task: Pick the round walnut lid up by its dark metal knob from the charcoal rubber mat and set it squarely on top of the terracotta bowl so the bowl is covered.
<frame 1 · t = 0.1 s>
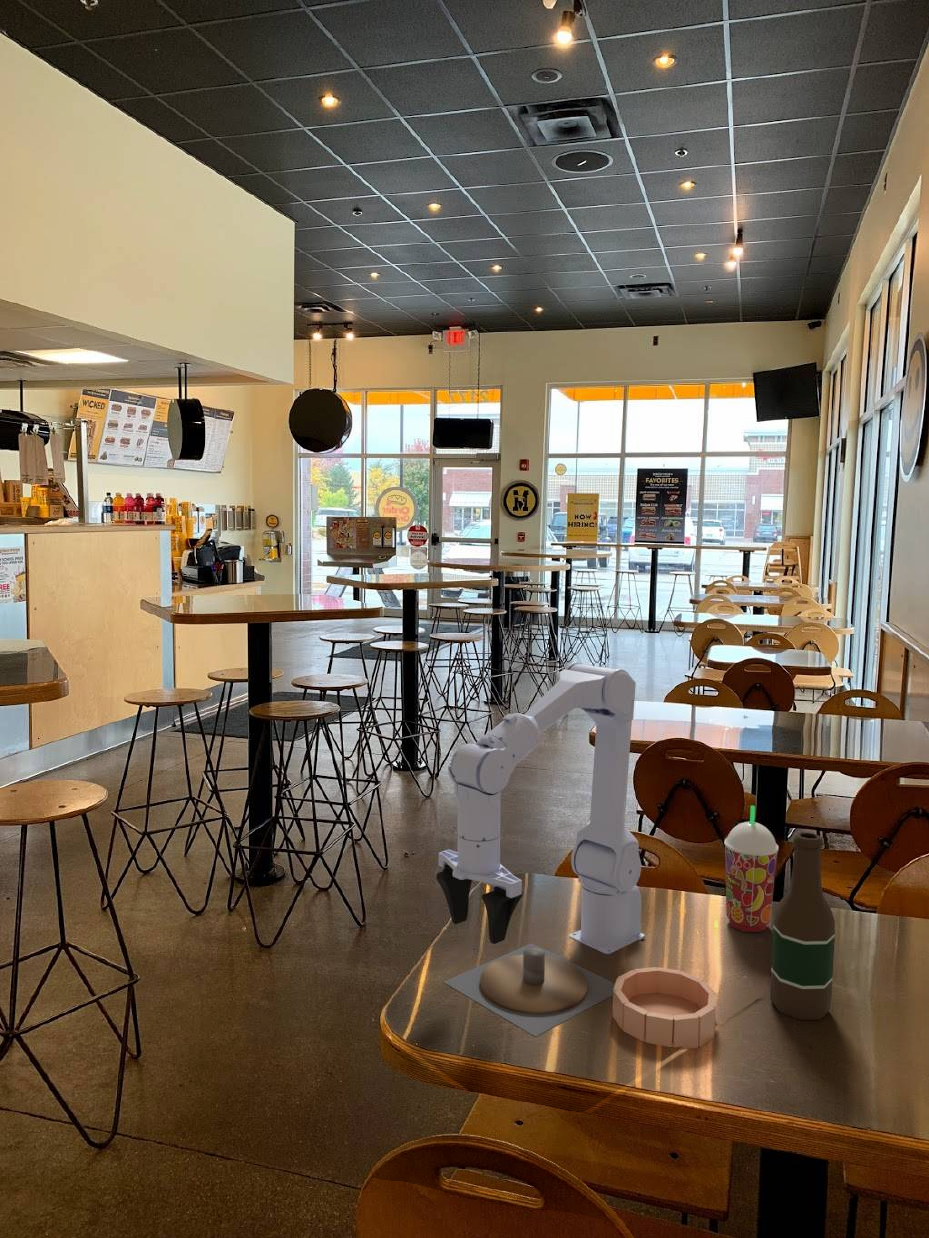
hand: (478, 931, 121), 10 cm above the table, tool pointing down, fingers open, 7 cm apart
lid: (533, 985, 126), resting on mat
bowl: (663, 1020, 118), on the table
smoothie: (747, 926, 146), on the table
beer bottle: (799, 1007, 122), on the table
mat: (533, 988, 126), on the table
syrup box: (603, 900, 156), on the table
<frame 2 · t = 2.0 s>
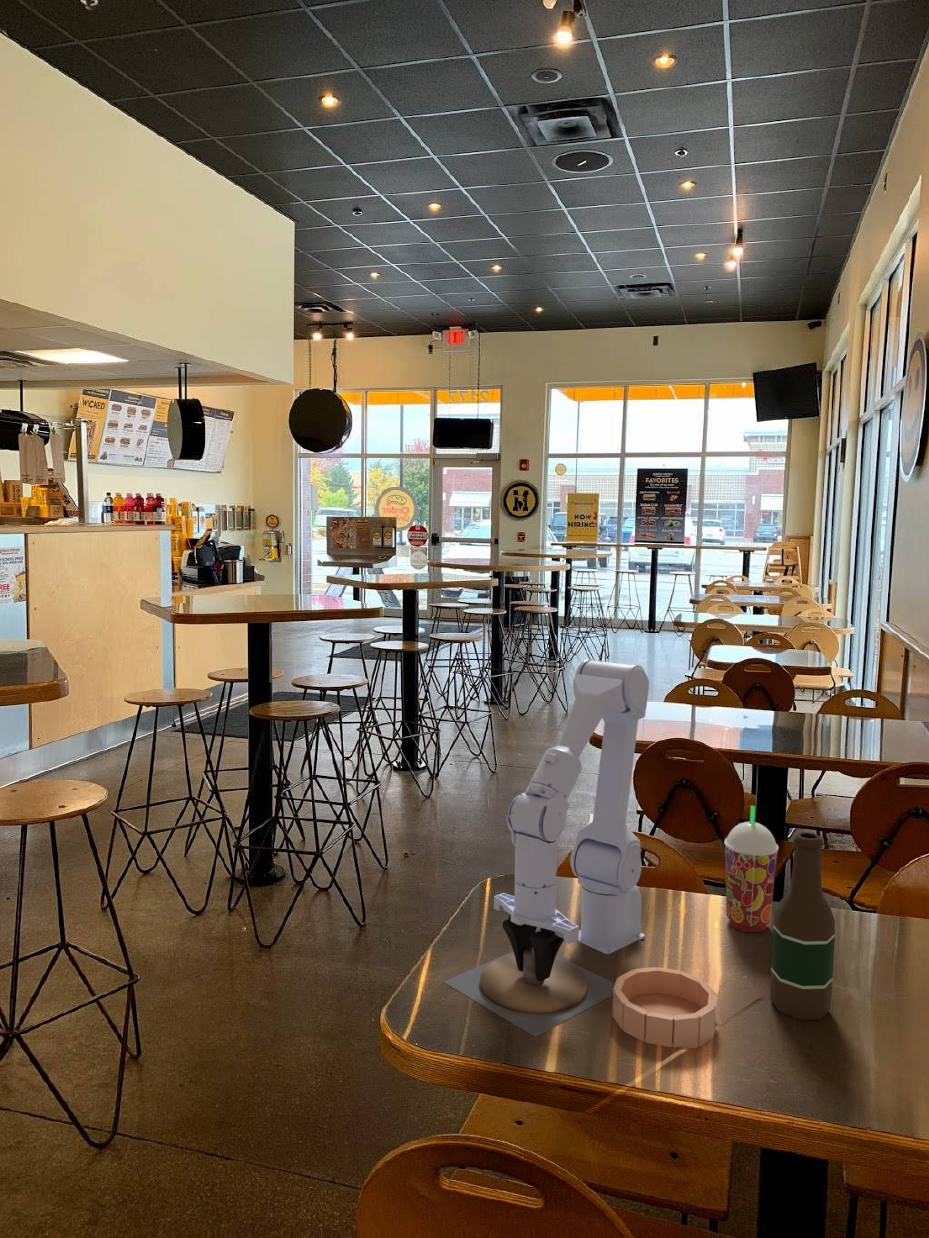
hand: (533, 973, 126), 2 cm above the table, tool pointing down, fingers closed on lid, 3 cm apart
lid: (533, 985, 126), resting on mat, touching gripper
everything else where it was.
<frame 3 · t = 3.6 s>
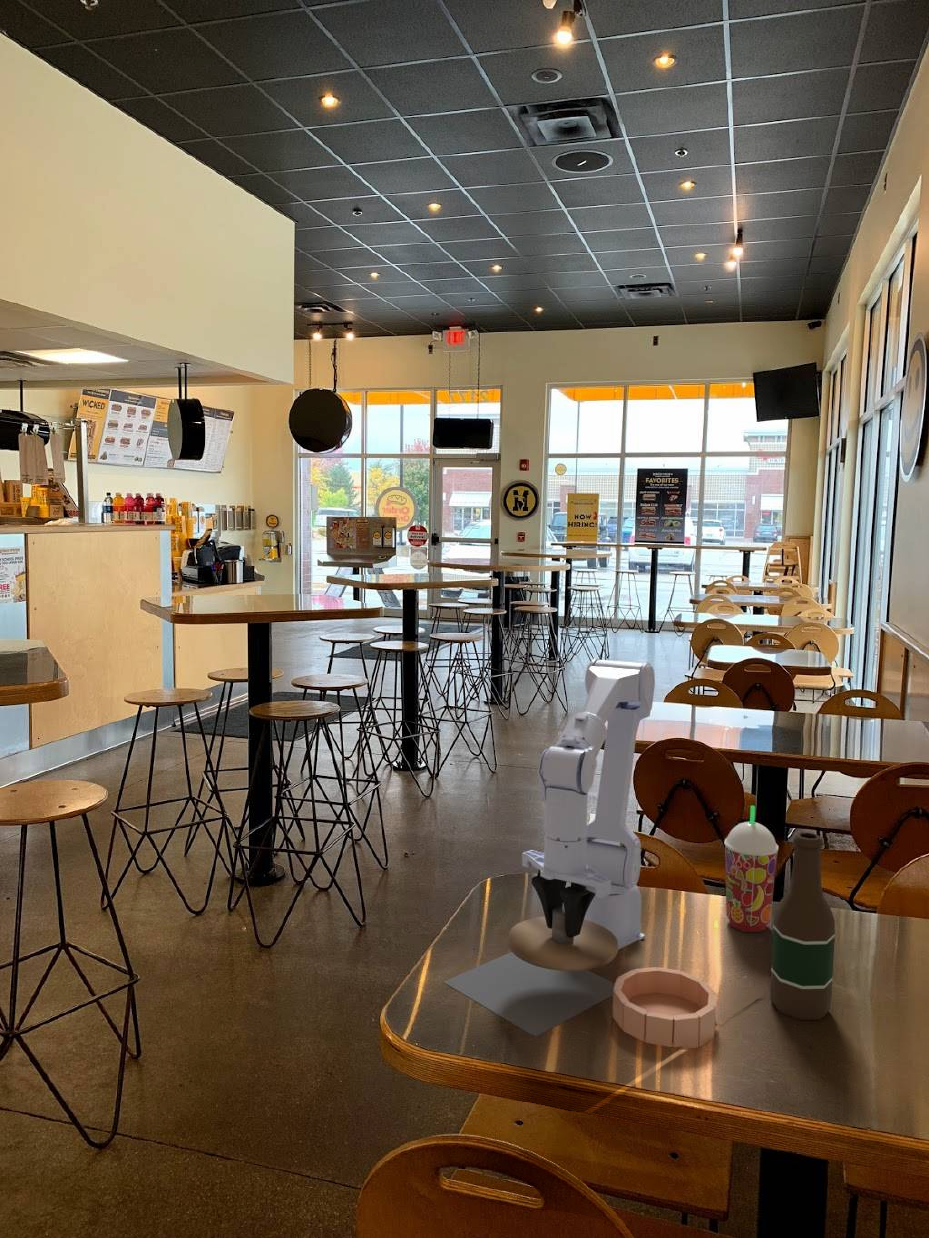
hand: (563, 930, 123), 9 cm above the table, tool pointing down, fingers closed on lid, 3 cm apart
lid: (562, 944, 123), point 7 cm above the table, touching gripper
everything else where it was.
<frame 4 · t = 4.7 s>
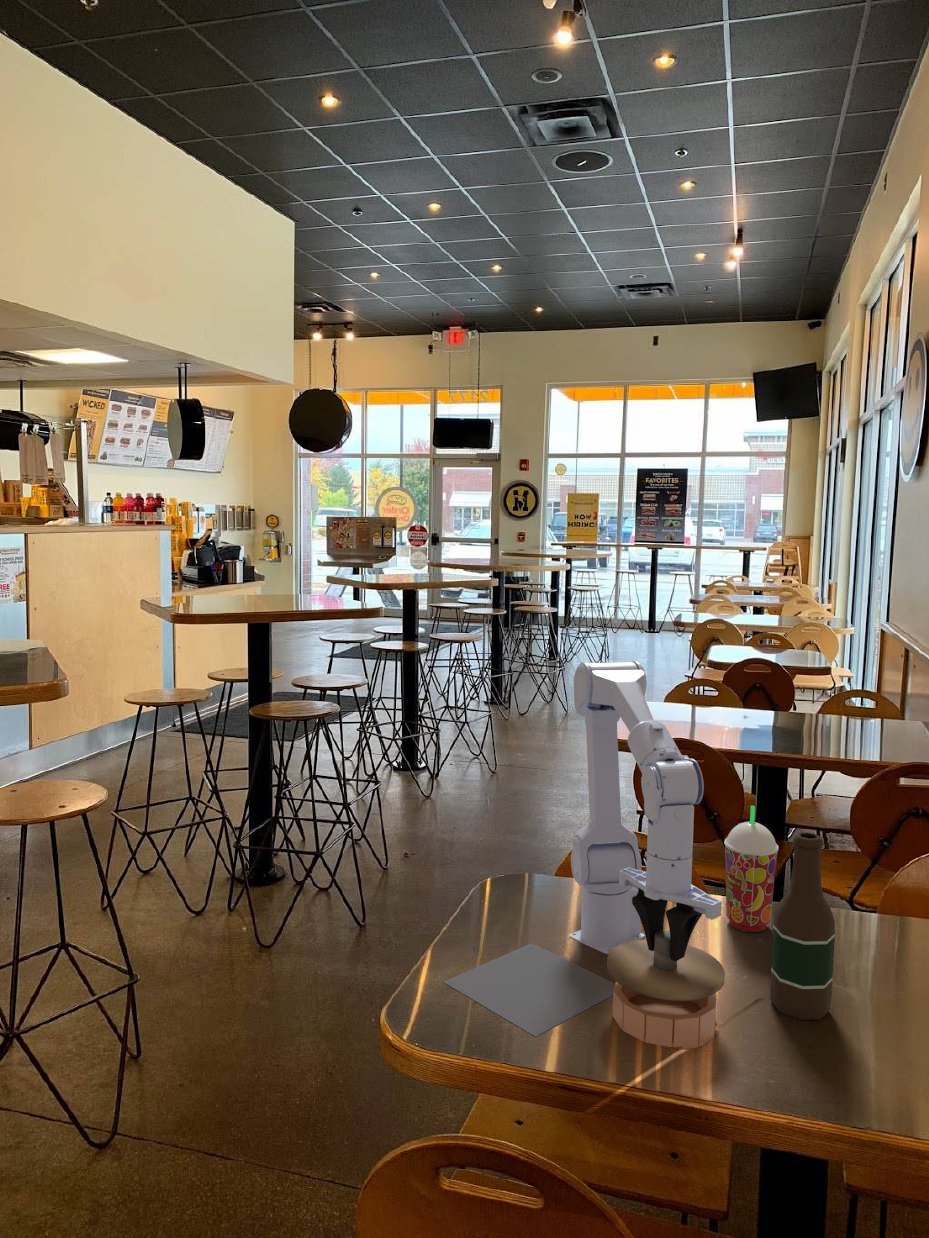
hand: (666, 952, 117), 9 cm above the table, tool pointing down, fingers closed on lid, 3 cm apart
lid: (664, 970, 117), point 7 cm above the table, touching gripper
everything else where it was.
when the fingers open (7 cm above the table, at t = 5.6 s): lid stays where it is, resting on bowl.
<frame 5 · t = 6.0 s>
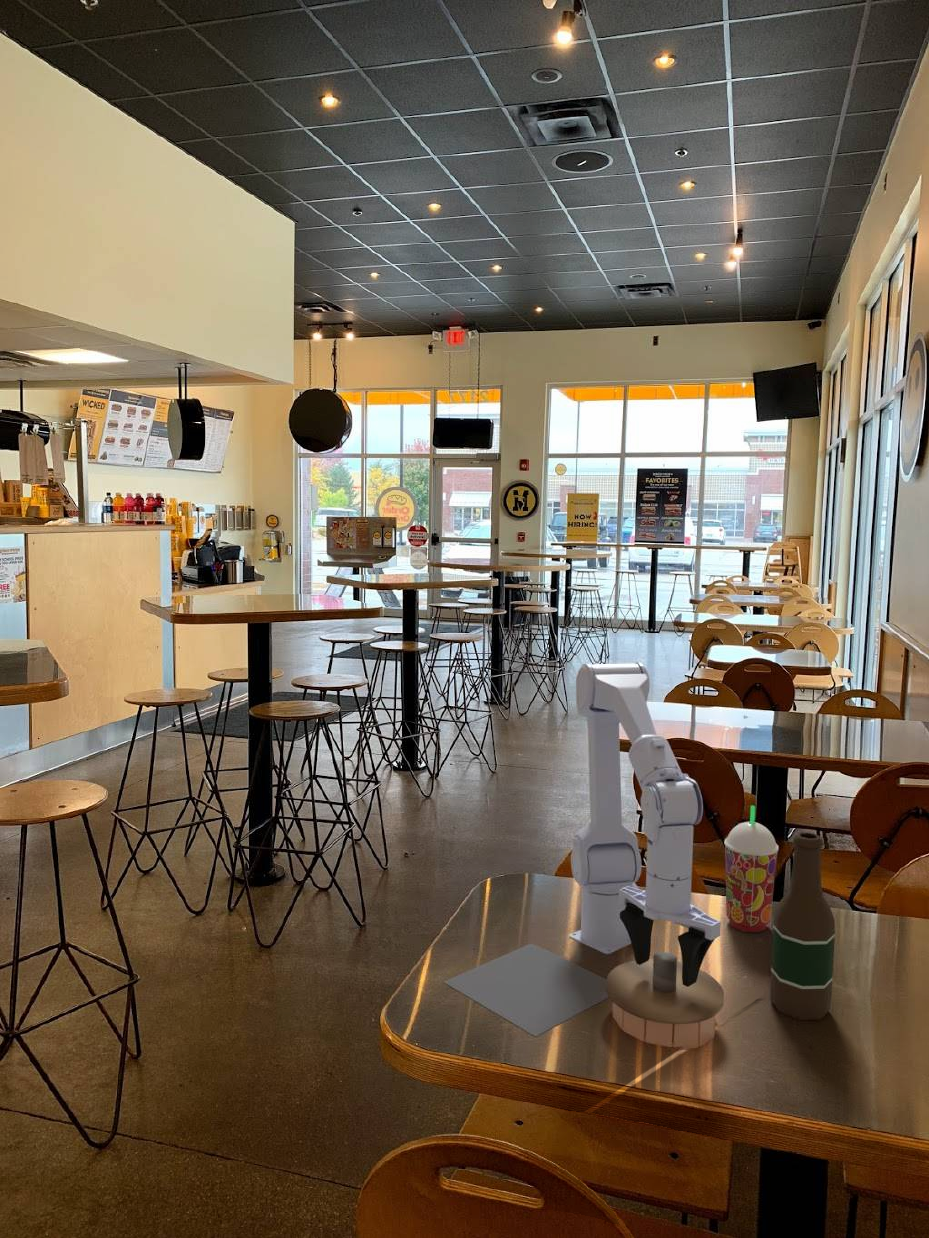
hand: (665, 972, 117), 7 cm above the table, tool pointing down, fingers open, 7 cm apart
lid: (664, 992, 117), point 4 cm above the table, touching bowl
everything else where it was.
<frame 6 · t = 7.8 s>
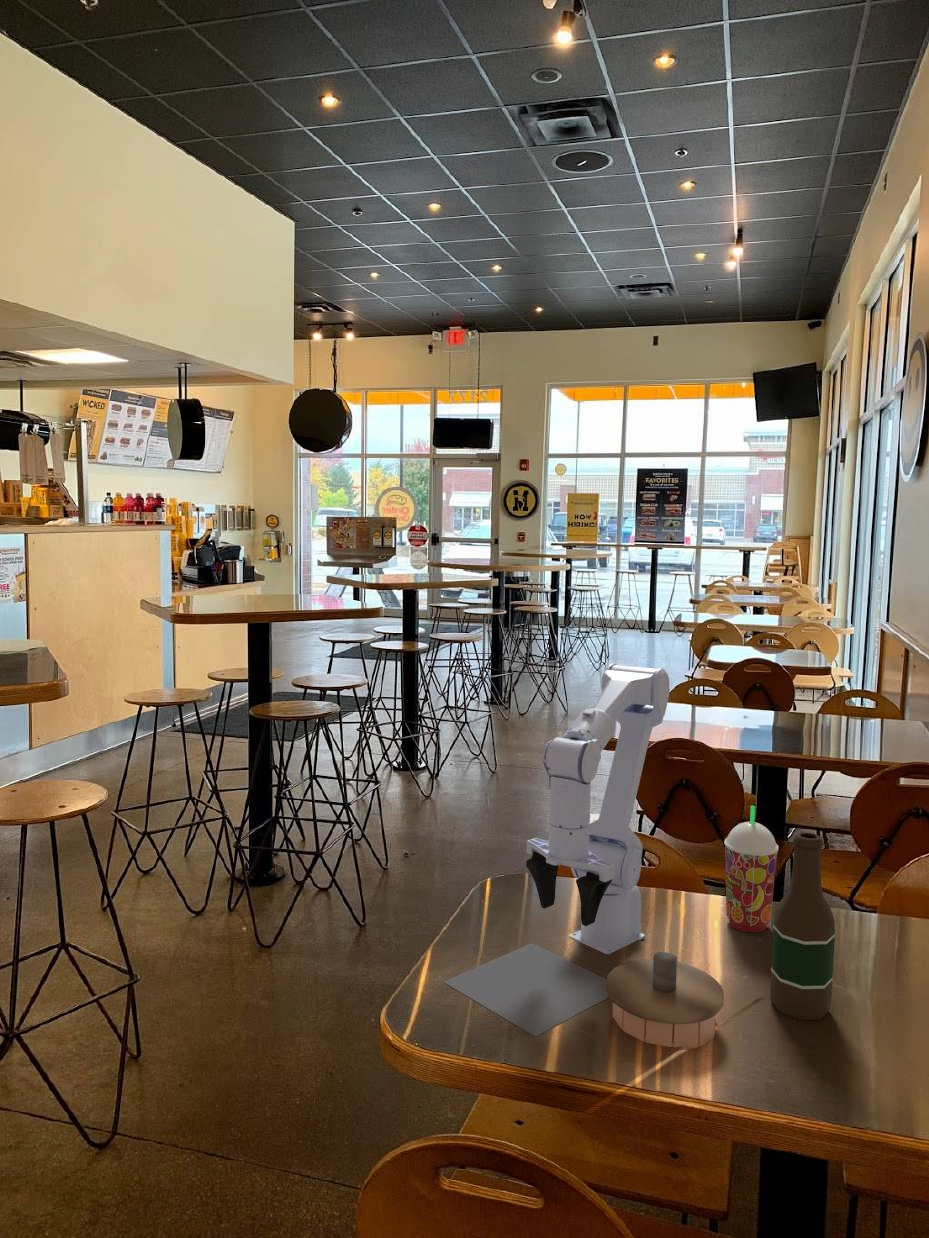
hand: (567, 914, 128), 9 cm above the table, tool pointing down, fingers open, 7 cm apart
nothing on the table moved.
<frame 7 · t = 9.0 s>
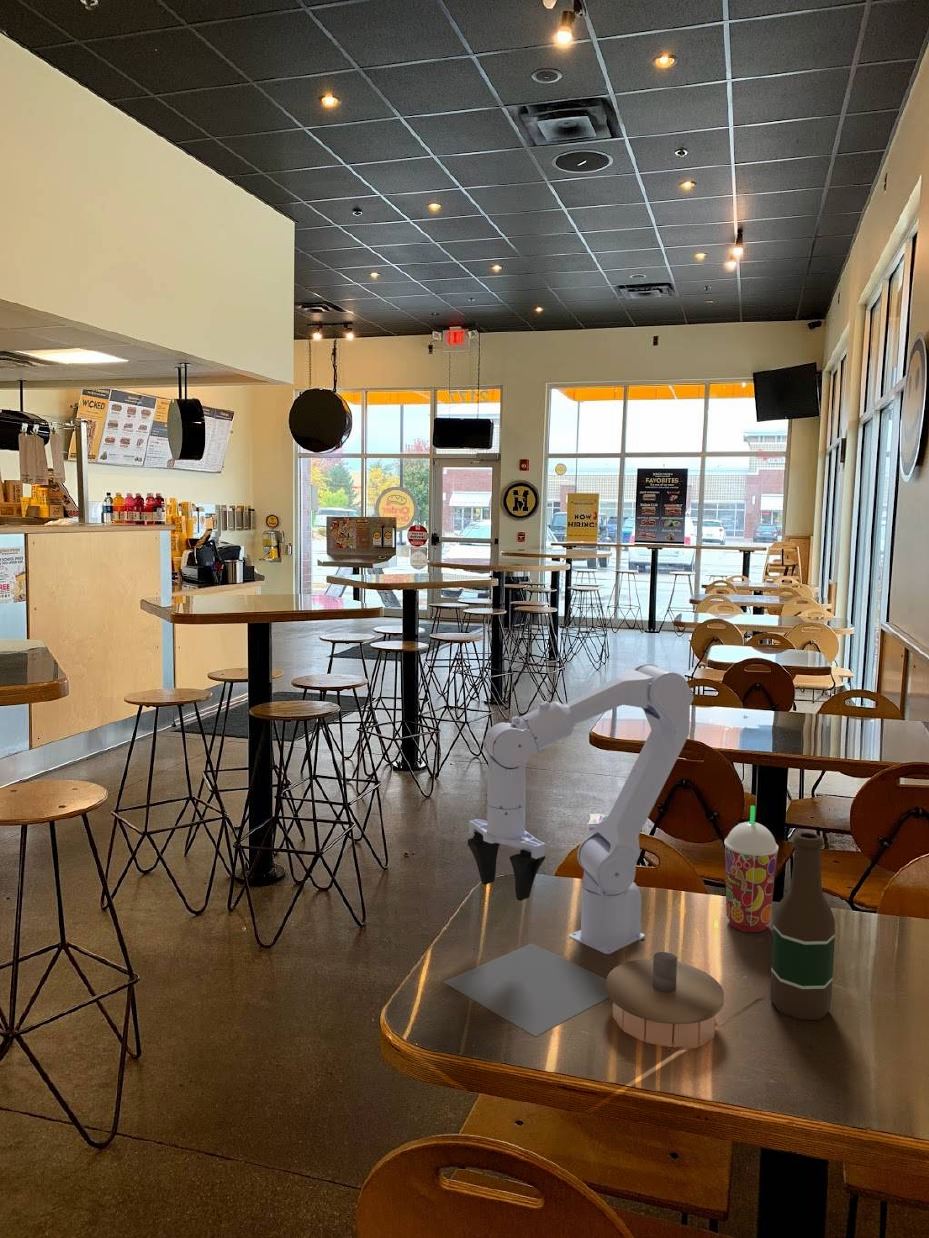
hand: (505, 890, 136), 9 cm above the table, tool pointing down, fingers open, 7 cm apart
nothing on the table moved.
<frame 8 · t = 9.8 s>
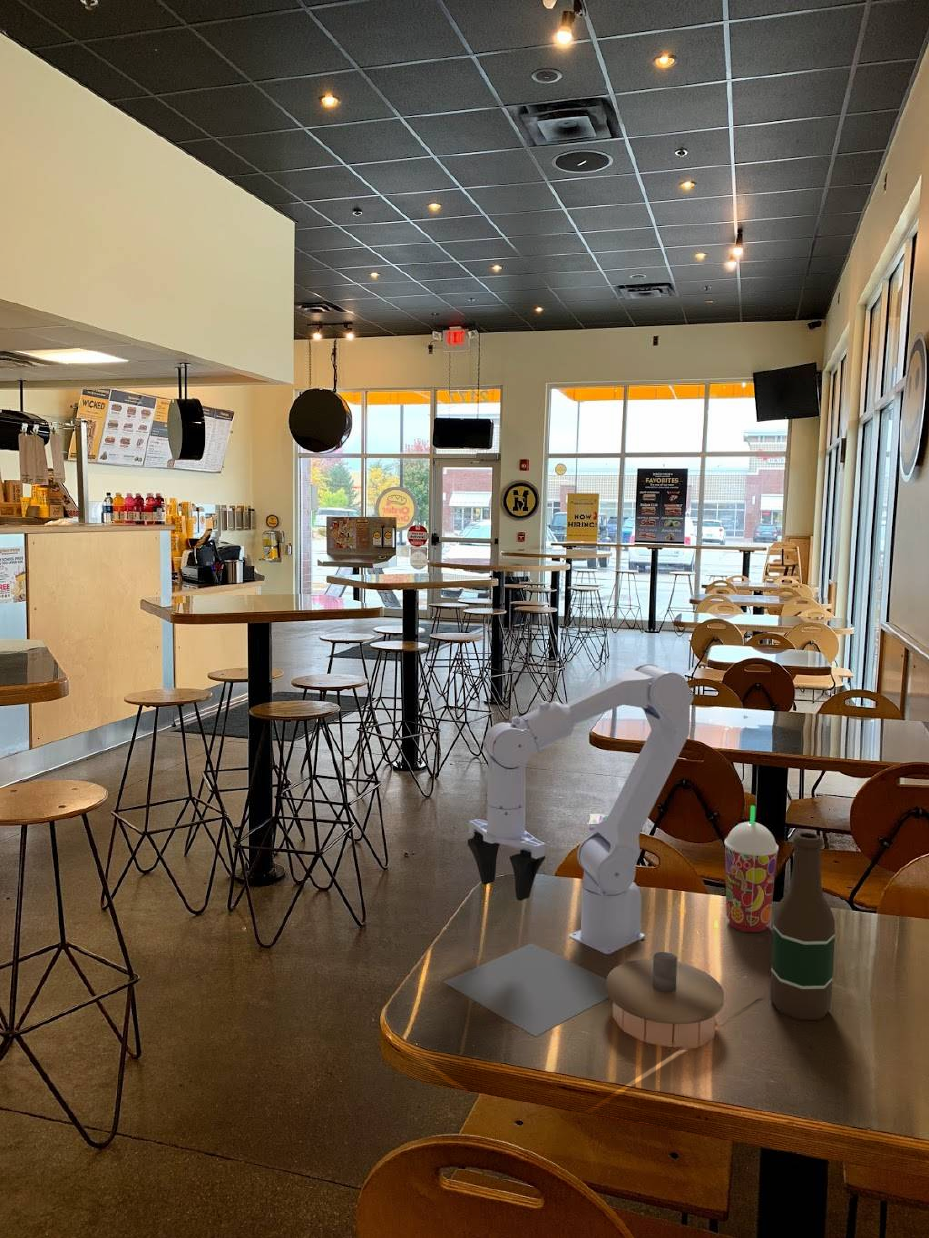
hand: (505, 890, 136), 9 cm above the table, tool pointing down, fingers open, 7 cm apart
nothing on the table moved.
at the end: lid 0.2 cm off-centre on the bowl, point 4.0 cm above the bowl's base; lid tilted 0°; the gripper is holding nothing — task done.
